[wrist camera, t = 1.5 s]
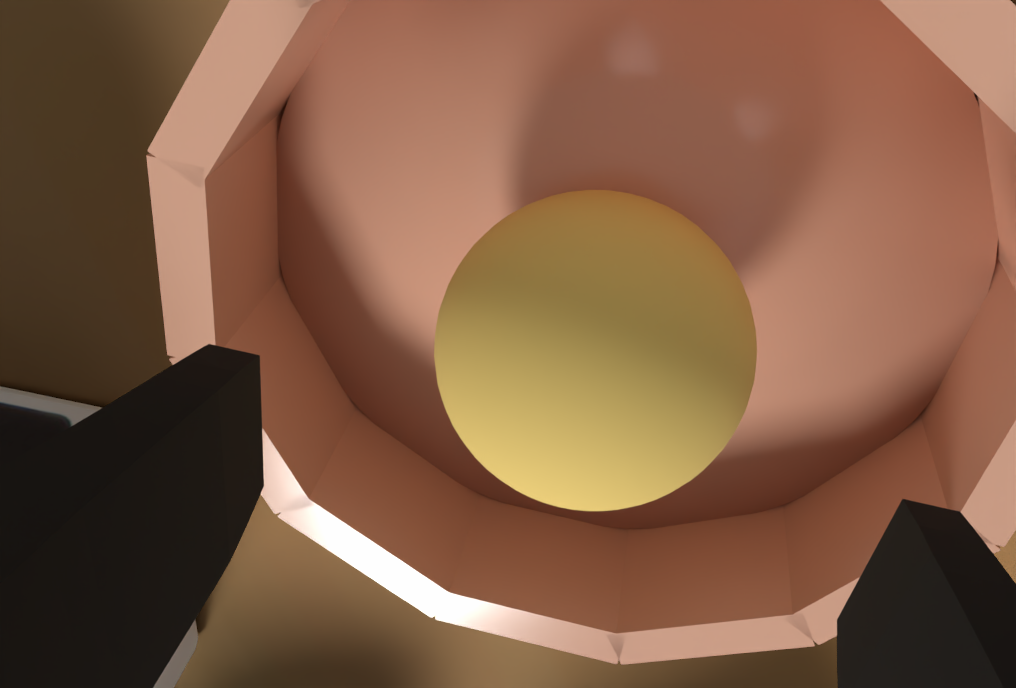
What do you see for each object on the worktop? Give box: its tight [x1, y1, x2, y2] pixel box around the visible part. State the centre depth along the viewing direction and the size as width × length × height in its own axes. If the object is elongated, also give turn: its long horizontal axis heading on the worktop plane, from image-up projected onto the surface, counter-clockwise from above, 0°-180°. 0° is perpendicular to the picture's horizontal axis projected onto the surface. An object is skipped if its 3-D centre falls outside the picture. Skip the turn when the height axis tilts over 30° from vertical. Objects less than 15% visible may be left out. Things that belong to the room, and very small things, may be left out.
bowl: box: [146, 0, 1016, 665], centre depth 14 cm, size 13×13×3 cm
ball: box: [434, 190, 757, 511], centre depth 13 cm, size 4×4×4 cm
